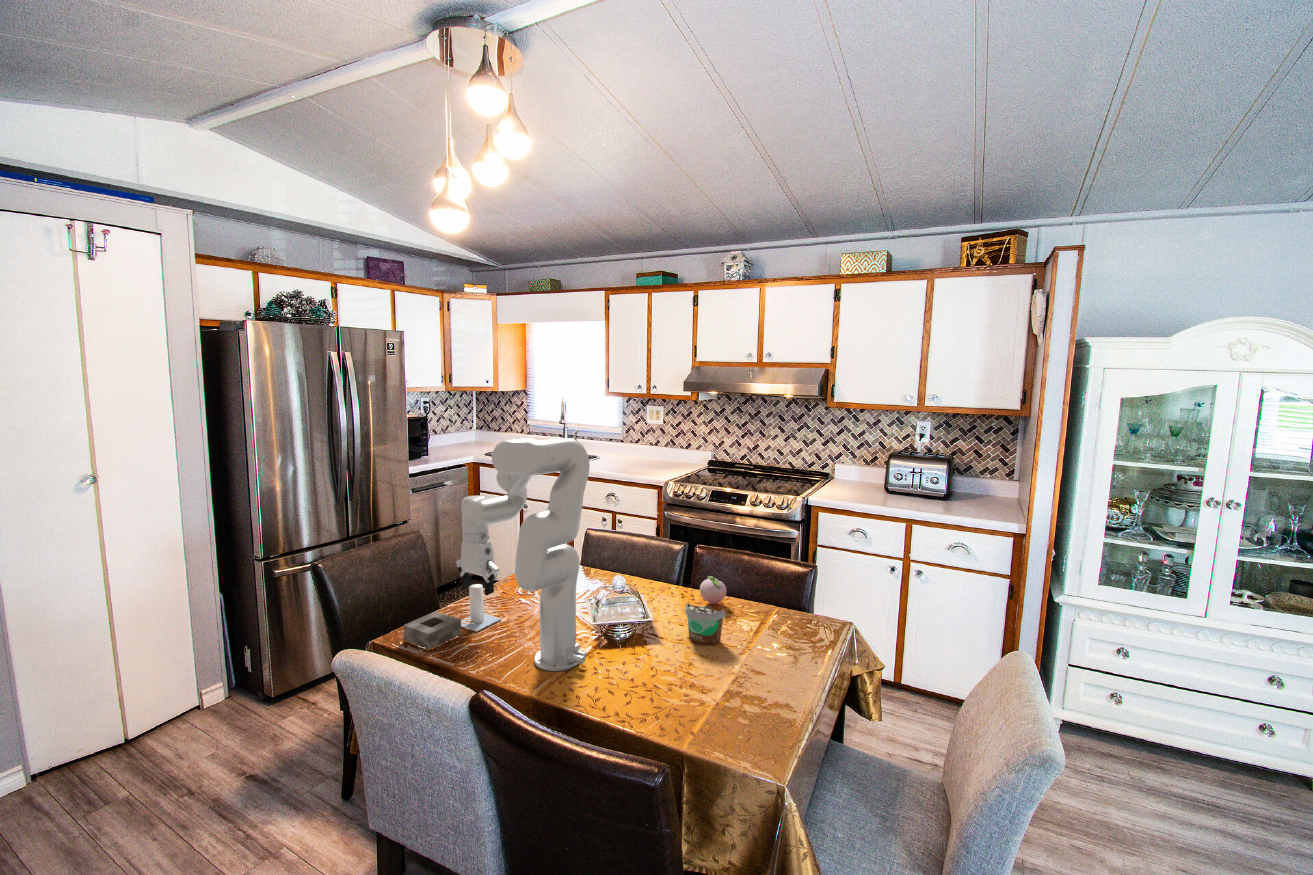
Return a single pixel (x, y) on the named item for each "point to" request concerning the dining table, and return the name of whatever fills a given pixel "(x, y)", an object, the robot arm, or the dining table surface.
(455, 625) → the socket block
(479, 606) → the peg
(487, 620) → the mat
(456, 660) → the dining table surface
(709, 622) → the food container
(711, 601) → the decorative fruit
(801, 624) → the dining table surface
